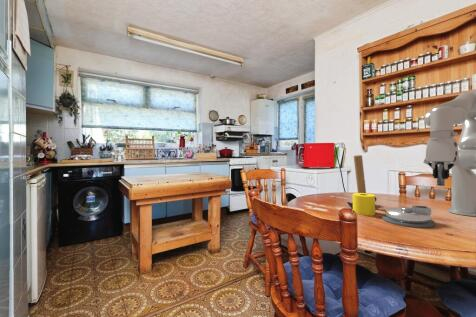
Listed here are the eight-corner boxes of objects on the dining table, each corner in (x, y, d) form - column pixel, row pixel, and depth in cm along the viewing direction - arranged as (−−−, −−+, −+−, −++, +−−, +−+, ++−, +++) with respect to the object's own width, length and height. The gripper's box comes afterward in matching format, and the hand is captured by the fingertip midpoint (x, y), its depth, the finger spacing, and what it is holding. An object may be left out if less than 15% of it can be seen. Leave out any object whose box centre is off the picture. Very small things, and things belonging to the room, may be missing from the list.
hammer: (356, 214, 124) (350, 159, 121) (348, 212, 129) (341, 159, 125) (377, 202, 134) (372, 152, 130) (368, 201, 138) (363, 152, 135)
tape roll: (376, 212, 119) (376, 194, 118) (372, 216, 111) (372, 197, 111) (355, 209, 125) (355, 192, 125) (350, 213, 118) (350, 195, 118)
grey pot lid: (391, 221, 99) (391, 209, 99) (382, 212, 114) (382, 201, 114) (437, 225, 93) (437, 211, 93) (421, 215, 108) (421, 203, 108)
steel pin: (438, 185, 101) (439, 157, 101) (445, 185, 99) (446, 157, 99) (435, 185, 100) (436, 157, 100) (442, 186, 98) (443, 157, 98)
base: (398, 213, 116) (398, 211, 116) (444, 223, 99) (444, 221, 99) (372, 218, 109) (372, 215, 108) (418, 230, 91) (418, 227, 91)
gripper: (470, 134, 94) (469, 180, 94) (424, 137, 108) (423, 176, 109) (461, 134, 91) (461, 180, 91) (415, 136, 105) (414, 177, 105)
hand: (440, 178), depth 100 cm, fingers closed on steel pin, 2 cm apart
